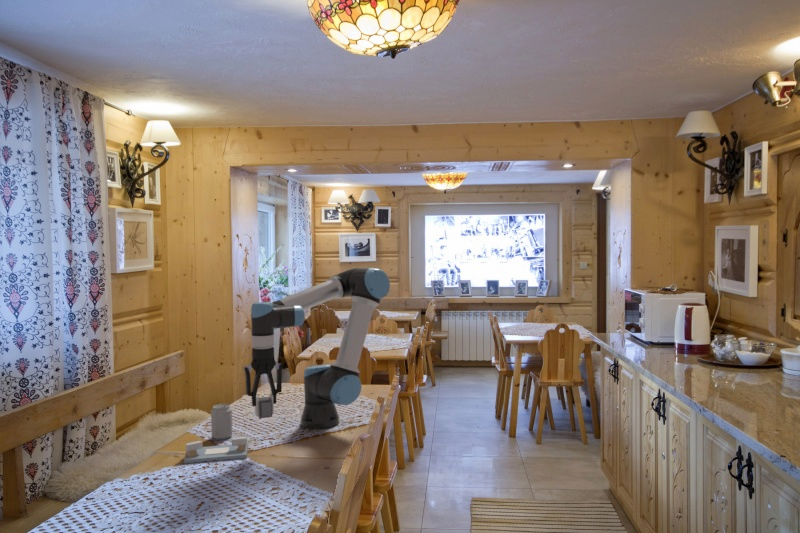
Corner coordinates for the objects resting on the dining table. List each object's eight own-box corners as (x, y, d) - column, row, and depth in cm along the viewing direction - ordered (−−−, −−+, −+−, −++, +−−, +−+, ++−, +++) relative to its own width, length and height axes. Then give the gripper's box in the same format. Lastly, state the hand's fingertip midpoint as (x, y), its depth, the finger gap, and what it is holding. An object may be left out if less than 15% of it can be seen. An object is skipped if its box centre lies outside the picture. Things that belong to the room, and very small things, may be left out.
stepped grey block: (256, 414, 210) (256, 397, 210) (269, 413, 212) (268, 396, 212) (260, 419, 204) (259, 401, 204) (273, 417, 206) (272, 400, 206)
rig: (248, 446, 214) (247, 432, 213) (246, 458, 202) (246, 443, 202) (188, 451, 210) (187, 437, 209) (183, 463, 198) (182, 448, 198)
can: (226, 441, 220) (225, 408, 220) (207, 440, 222) (206, 407, 221) (236, 434, 228) (235, 403, 227) (218, 433, 229) (217, 402, 229)
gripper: (285, 343, 215) (286, 408, 215) (235, 347, 208) (236, 414, 208) (290, 346, 208) (291, 413, 209) (239, 350, 201) (240, 420, 201)
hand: (264, 413), depth 208 cm, fingers closed on stepped grey block, 4 cm apart
